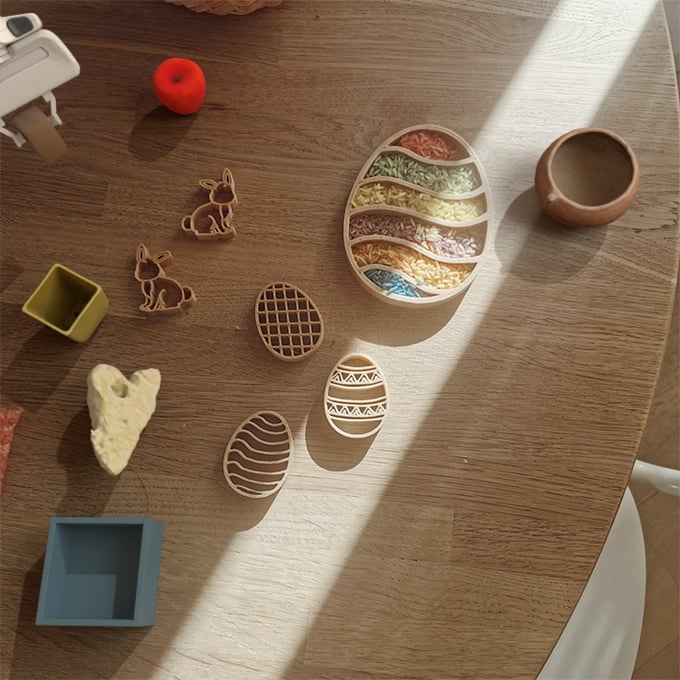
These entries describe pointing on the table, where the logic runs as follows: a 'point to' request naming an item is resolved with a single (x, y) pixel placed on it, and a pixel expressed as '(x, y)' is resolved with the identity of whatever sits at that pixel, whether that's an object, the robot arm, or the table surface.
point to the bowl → (587, 178)
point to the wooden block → (39, 133)
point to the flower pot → (68, 303)
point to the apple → (180, 85)
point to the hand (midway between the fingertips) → (41, 135)
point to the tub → (100, 572)
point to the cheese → (119, 412)
